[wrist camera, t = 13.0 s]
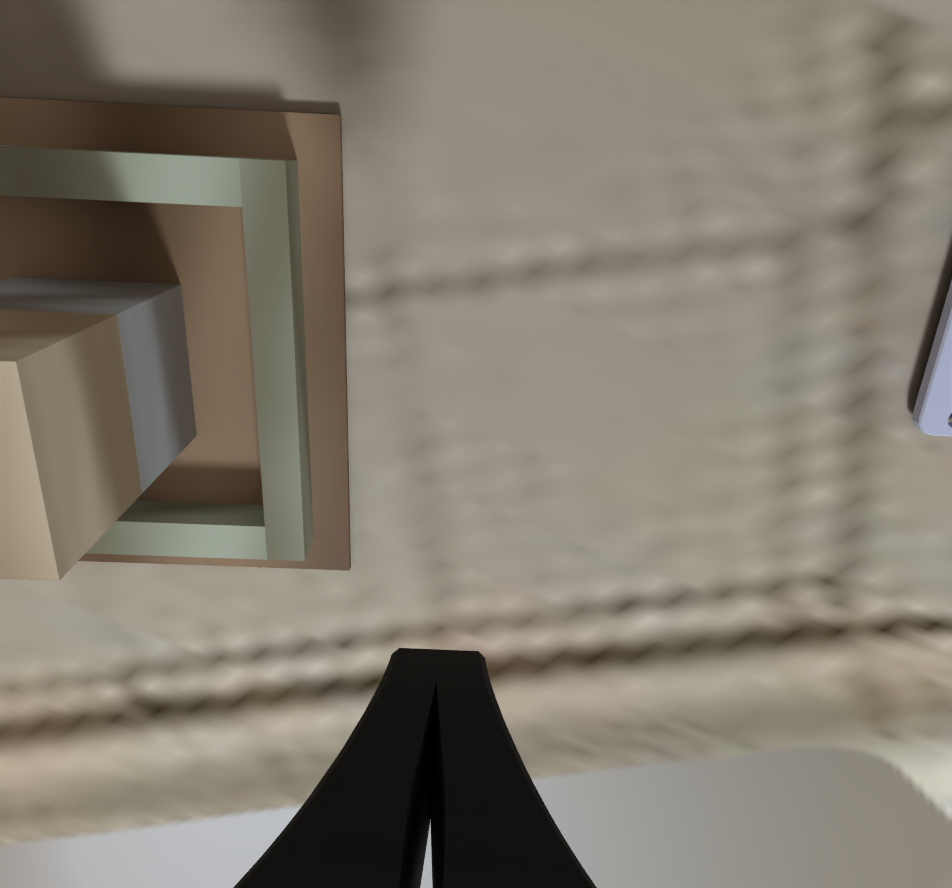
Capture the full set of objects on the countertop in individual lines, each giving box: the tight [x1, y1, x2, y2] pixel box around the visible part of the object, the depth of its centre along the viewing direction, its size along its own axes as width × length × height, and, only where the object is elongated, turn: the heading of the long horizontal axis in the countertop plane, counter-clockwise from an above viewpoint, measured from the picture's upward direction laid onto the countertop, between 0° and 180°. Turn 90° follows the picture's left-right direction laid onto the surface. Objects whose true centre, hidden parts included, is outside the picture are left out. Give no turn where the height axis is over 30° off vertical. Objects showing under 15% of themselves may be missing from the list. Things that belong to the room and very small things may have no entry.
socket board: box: [0, 97, 351, 570], centre depth 18 cm, size 12×12×1 cm
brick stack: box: [0, 277, 197, 581], centre depth 15 cm, size 4×4×7 cm
